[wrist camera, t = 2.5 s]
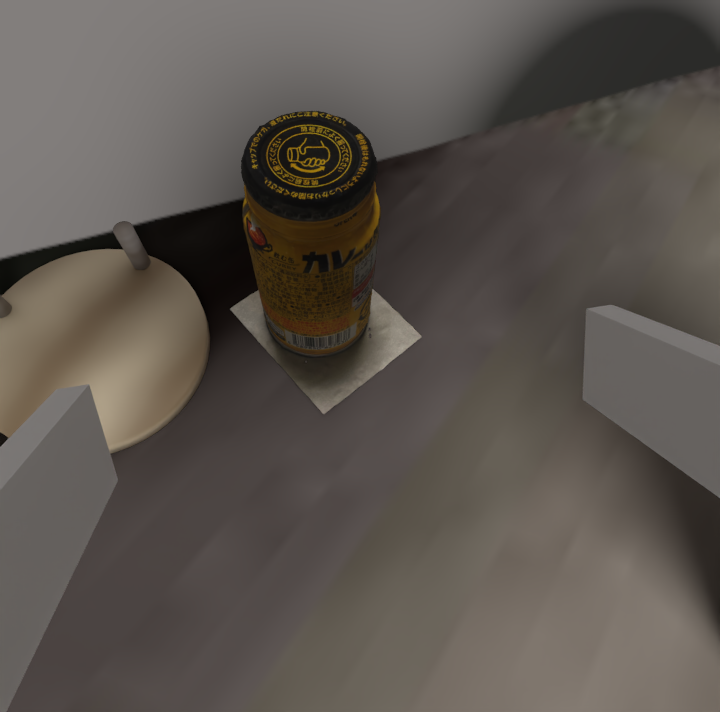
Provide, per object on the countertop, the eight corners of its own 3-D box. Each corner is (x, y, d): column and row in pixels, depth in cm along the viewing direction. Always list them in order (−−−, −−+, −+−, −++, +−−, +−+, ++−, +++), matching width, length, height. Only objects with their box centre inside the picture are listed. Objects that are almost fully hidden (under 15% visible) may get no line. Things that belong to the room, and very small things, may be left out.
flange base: (245, 297, 31) (232, 254, 27) (142, 492, 26) (110, 472, 22) (64, 237, 33) (29, 188, 29) (-66, 412, 28) (-131, 380, 24)
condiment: (327, 245, 33) (322, 69, 22) (421, 338, 31) (468, 189, 20) (230, 310, 31) (172, 149, 20) (323, 416, 28) (315, 297, 18)
